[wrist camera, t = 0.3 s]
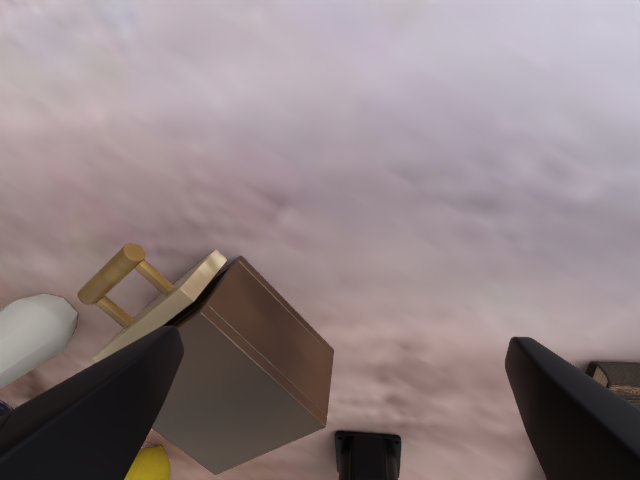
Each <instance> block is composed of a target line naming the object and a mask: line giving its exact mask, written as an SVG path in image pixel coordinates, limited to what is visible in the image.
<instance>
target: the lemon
mask: <svg viewBox="0 0 640 480" xmlns="http://www.w3.org/2000/svg"><path fill="white" fill-rule="evenodd" d="M170 468H171V467H170V462H169V458H168V457H167V455H166V454H165V453H164V450H163V447H162V446H160V445H158V446H156V447H154V448H153V447H148V448H143V449H140V450H139V452H138V454H137V456H136V458H135V460H134V462H133V464H132V466H131V468H130V469H129V471H128V473H127V475H126V477H125V479H124V480H169V478H170Z"/></svg>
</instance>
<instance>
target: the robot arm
mask: <svg viewBox="0 0 640 480" xmlns="http://www.w3.org/2000/svg"><path fill="white" fill-rule="evenodd" d="M183 355H184V346H183V343H182V340H181V337H180V333H179V330H178V329H177V327H175V326H161V327H159V328H157V329H155V330H154V331H152V332H150V333H148V334H147V335H145V336H143V337H141V338H139V339H138V340H136V341H134V342H132V343H131V344H129V345H127V346H125V347H124V348H122V349H120V350H118V351H116V352H115V353H113V354H111V355H109V356H108V357H106V358H104V359H102V360H100V361H99V362H97V363H95V364H93V365H92V366H90V367H88V368H86V369H84V370H83V371H81V372H79V373H77V374H76V375H74V376H72V377H70V378H68V379H67V380H65V381H63V382H61V383H60V384H58V385H56V386H54V387H52V388H51V389H49V390H47V391H45V392H44V393H42V394H40V395H38V396H37V397H35V398H33V399H31V400H29V401H28V402H26V403H24V404H22V405H21V406H19V407H17V408H15V409H14V411H10V412H8V413H6V414H4V415H3V416H1V417H0V480H124V479H125V477H126V475H127V473H128V471H129V469H130V468H131V466H132V464H133V462H134V460H135V458H136V456H137V454H138V452H139V450H140V449H141V447H142V445H143V443H144V441H145V439H146V437H147V435H148V433H149V432H150V430H151V428H152V426H153V424H154V422H155V420H156V418H157V416H158V414H159V412H160V410H161V408H162V406H163V404H164V402H165V399H166V397H167V395H168V392H169V390H170V387H171V385H172V383H173V380H174V378H175V375H176V373H177V370H178V368H179V366H180V363H181V361H182V358H183ZM505 369H506V373H507V376H508V379H509V382H510V385H511V388H512V391H513V394H514V397H515V400H516V403H517V406H518V409H519V412H520V415H521V418H522V421H523V424H524V427H525V429H526V432H527V435H528V437H529V439H530V442H531V444H532V446H533V449H534V451H535V453H536V455H537V457H538V460H539V462H540V464H541V466H542V469H543V471H544V473H545V475H546V477H547V480H640V409H638V408H637V407H635V406H634V405H632V404H631V403H629V402H628V401H626V400H625V399H623V398H622V397H620V396H619V395H617V394H616V393H614V392H613V391H611V390H610V389H608V388H606V387H605V386H603V385H602V384H600V383H599V382H597V381H596V380H594V379H593V378H591V377H590V376H588V375H587V374H585V373H584V372H582V371H581V370H579V369H578V368H576V367H575V366H573V365H572V364H570V363H569V362H567V361H566V360H564V359H563V358H561V357H560V356H558V355H556V354H555V353H553V352H552V351H550V350H549V349H547V348H546V347H544V346H543V345H541V344H540V343H538V342H537V341H535V340H534V339H532V338H529V337H513V338H511V340H510V342H509V347H508V351H507V355H506V359H505ZM335 445H336V459H337V471H338V473H339V480H398V478H399V472H400V456H401V437H400V436H398V435H388V434H374V433H360V432H346V431H337V432H336V433H335Z"/></svg>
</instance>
